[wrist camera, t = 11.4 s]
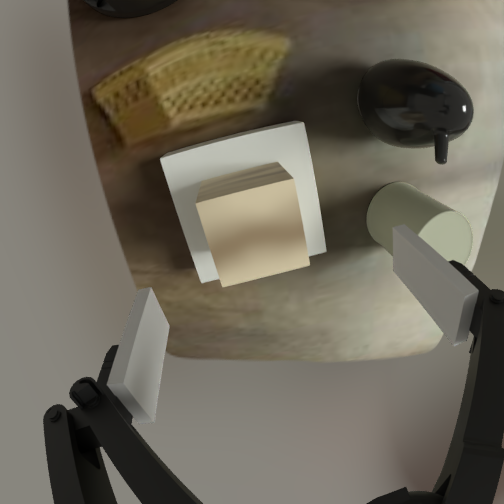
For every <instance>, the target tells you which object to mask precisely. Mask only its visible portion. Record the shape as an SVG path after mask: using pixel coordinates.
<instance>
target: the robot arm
mask: <svg viewBox="0 0 504 504" xmlns="http://www.w3.org/2000/svg"><path fill="white" fill-rule="evenodd" d="M84 1H85V2H86V3H87V4H88V5H89V6H91V7H92V8H94V9H95V10H96V11H98V12H100V13H102V14H105V15H108V16H112V17H119V18H130V17H138V16H143V15H147V14H150V13H153V12H156V11H158V10H161V9H163V8H165V7H167V6H169V5H170V4H172V3H174V2H175V1H177V0H84ZM392 228H393V271H394V272H395V273H396V274H397V276H398V277H399V278H400V279H401V280H402V282H403V283H404V284H405V285H406V286H407V288H408V289H409V290H410V291H411V292H412V294H413V295H414V296H415V297H416V299H417V300H418V301H419V302H420V303H421V305H422V306H423V307H424V308H425V310H426V311H427V312H428V314H429V315H430V316H431V317H432V319H433V320H434V321H435V322H436V324H437V325H438V326H439V328H440V329H441V330H442V332H443V333H444V334H445V335H446V337H447V338H448V340H449V341H450V342H451V344H452V345H453V346H456V345H458V344H460V343H462V342H464V341H467V338H468V335H469V331H471V333H472V334H473V335H474V338H473V341H472V345H471V348H470V351H469V353H471V356H470V362H469V368H468V374H467V379H466V384H465V389H464V394H463V398H462V403H461V408H460V411H459V415H458V419H457V423H456V427H455V430H454V434H453V438H452V441H451V444H450V448H449V451H448V454H447V457H446V460H445V463H444V466H443V469H442V471H441V474H440V476H439V478H438V480H437V482H436V484H435V486H434V488H433V491H432V492H426V491H411V492H408V491H407V488H406V487H404V488H402V489H399V490H397V491H394V492H391V493H389V494H386V495H383V496H380V497H377V498H376V499H374V500H372V501H370V502H369V503H367V504H492V503H493V500H494V496H495V493H496V489H497V485H498V482H499V478H500V474H501V469H502V465H503V461H504V449H503V448H502V446H501V445H502V439H503V433H504V292H503V291H501V290H498V289H492V290H490V289H489V288H488V287H487V286H486V285H485V284H484V283H483V282H482V281H480V280H479V279H478V278H477V277H476V276H475V275H473V273H472V272H471V271H469V270H468V269H467V268H466V267H465V266H464V265H463V264H461V263H459V262H457V261H455V260H451V261H447V260H446V259H445V258H443V257H442V256H441V255H440V254H439V253H438V252H437V251H435V250H434V249H433V248H432V247H431V246H430V245H429V244H427V243H426V242H425V241H424V240H423V239H422V238H420V237H419V236H418V235H417V234H416V233H414V232H413V231H412V230H411V229H410V228H408V227H407V226H406V225H405V224H403V225H399V226H395V227H392ZM169 327H170V326H169V324H168V322H167V320H166V318H165V316H164V313H163V311H162V309H161V307H160V305H159V303H158V301H157V299H156V296H155V294H154V292H153V290H152V288H151V287H149V288H144V289H140V290H138V292H137V295H136V298H135V301H134V303H133V306H132V309H131V312H130V314H129V318H128V320H127V323H126V326H125V329H124V332H123V335H122V338H121V342H120V344H119V345H114V346H112V347H111V348H110V350H109V351H108V352H107V353H106V356H105V359H104V363H103V365H102V368H101V369H102V370H101V371H100V374H99V377H98V380H97V382H96V381H95V380H94V379H93V378H91V377H84V378H81V379H80V380H78V381H76V382H75V383H74V384H73V386H72V387H71V389H70V392H69V394H70V398H71V399H72V400H73V401H74V403H75V404H76V405H77V406H78V407H76V408H73V409H70V410H67V409H66V408H65V407H64V406H63V405H60V404H57V405H53V406H52V407H50V408H49V409H48V410H47V411H46V413H45V415H44V419H43V422H44V423H43V424H44V436H45V446H46V455H47V462H48V470H49V476H50V483H51V488H52V494H53V499H54V504H117V501H116V498H115V496H114V493H113V490H112V487H111V484H110V481H109V478H108V474H107V471H106V468H105V465H104V461H103V458H102V454H101V452H100V447H103V449H104V450H105V452H106V453H107V455H108V456H109V458H110V459H111V461H112V462H113V464H114V466H115V467H116V469H117V470H118V471H119V473H120V474H121V476H122V477H123V479H124V480H125V481H126V483H127V484H128V486H129V487H130V488H131V490H132V491H133V492H134V494H135V495H136V496H137V497H138V499H139V500H140V502H141V503H142V504H203V503H202V502H201V501H200V500H199V499H198V498H197V497H196V496H195V495H194V494H193V493H192V492H191V491H190V490H189V489H188V488H187V487H186V486H185V485H184V484H183V483H182V482H181V481H180V480H179V479H178V478H177V477H176V476H175V475H174V474H173V473H172V471H171V470H170V469H169V468H168V467H167V466H166V465H165V464H164V463H163V461H162V460H161V459H160V458H159V457H158V456H157V455H156V453H155V452H154V451H153V450H152V449H151V448H150V446H149V445H148V444H147V443H146V442H145V440H144V439H143V438H142V437H141V435H140V434H139V433H138V432H137V431H136V429H135V428H134V427H133V426H132V425H131V423H132V417H133V418H134V419H135V420H136V421H137V422H138V424H146V423H154V422H155V415H156V407H157V400H158V393H159V386H160V380H161V374H162V367H163V361H164V356H165V350H166V344H167V338H168V333H169Z"/></svg>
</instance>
